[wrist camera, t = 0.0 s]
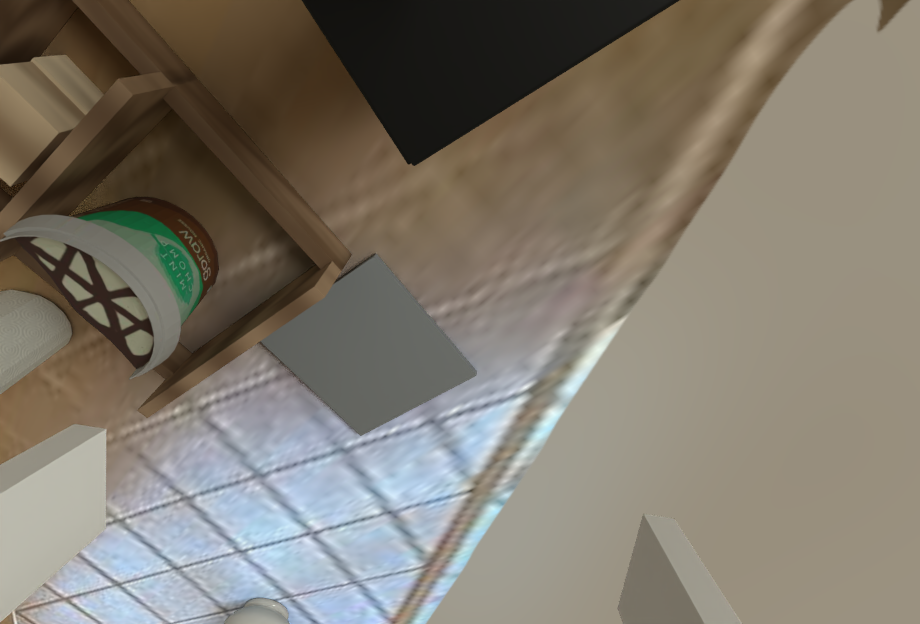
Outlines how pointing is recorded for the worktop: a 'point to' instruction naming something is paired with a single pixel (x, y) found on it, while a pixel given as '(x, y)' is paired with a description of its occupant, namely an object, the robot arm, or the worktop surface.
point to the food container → (127, 270)
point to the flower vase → (260, 613)
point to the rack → (115, 135)
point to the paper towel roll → (28, 334)
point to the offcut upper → (31, 120)
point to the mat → (370, 349)
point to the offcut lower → (70, 80)
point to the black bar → (464, 56)
